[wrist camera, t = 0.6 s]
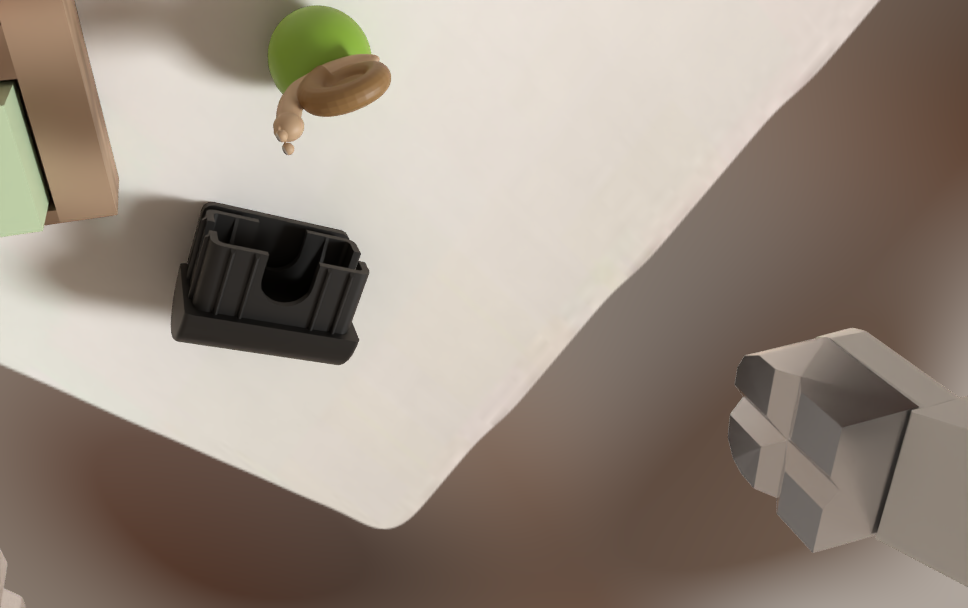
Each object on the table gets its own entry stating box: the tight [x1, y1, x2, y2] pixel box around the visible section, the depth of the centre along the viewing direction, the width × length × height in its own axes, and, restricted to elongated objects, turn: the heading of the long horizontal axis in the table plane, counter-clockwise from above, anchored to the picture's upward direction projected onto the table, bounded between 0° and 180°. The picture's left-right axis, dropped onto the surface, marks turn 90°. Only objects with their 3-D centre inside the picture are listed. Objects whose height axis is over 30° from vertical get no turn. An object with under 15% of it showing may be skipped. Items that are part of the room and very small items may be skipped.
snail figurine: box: [268, 6, 391, 155], centre depth 43 cm, size 5×6×12 cm
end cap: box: [171, 202, 369, 365], centre depth 51 cm, size 10×7×7 cm
